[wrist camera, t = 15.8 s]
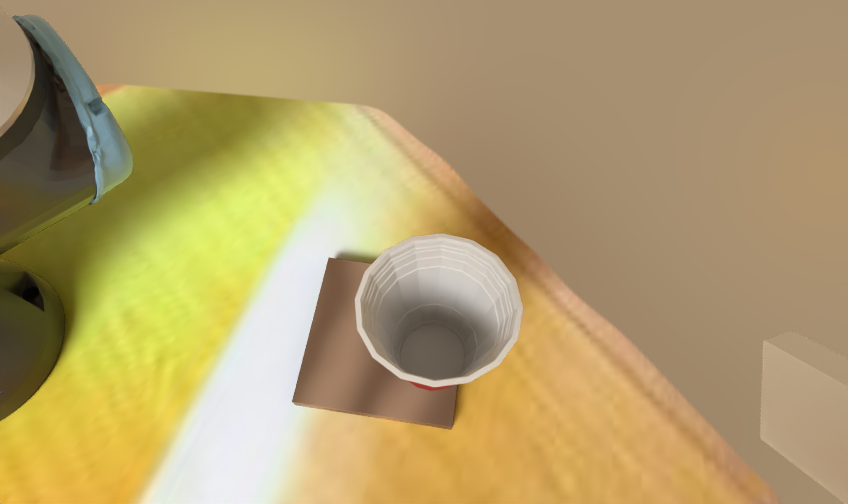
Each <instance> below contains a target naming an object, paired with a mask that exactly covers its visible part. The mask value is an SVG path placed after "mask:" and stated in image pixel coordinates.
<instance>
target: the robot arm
mask: <svg viewBox="0 0 848 504" xmlns="http://www.w3.org/2000/svg"><path fill="white" fill-rule="evenodd" d="M133 166H134V159H133V155H132V151H131V149H130V146H129V144H128V142H127V140H126V138H125V136H124V134H123V132H122V130H121V128H120V126H119V125H118V123H117V121H116V119H115V118H114V116H113V114H112V113H111V111H110V110H109V108H108V107H107V106H106V104H105V103H103V102H102V98H101V96H100V94H99V93H98V91H97V89H96V87H95V85H94V84H93V82H92V81H91V79H90V78H89V76H88V75H87V73H86V72H85V70H84V69H83V67H82V66H81V64H80V63H79V61H78V60H77V58H76V57H75V56H74V54H73V53H72V52H71V50H70V49H69V47H68V46H67V45H66V44H65V42H64V41H63V40H62V39H61V37H60V36H59V35H58V34H57V32H56V31H55V30H54V29H53V28H52V27H51V26H50V24H49V23H48V22H46V21H45V20H44V19H42V18H41V17H38V16H36V15H25V16H21V17H20V16H13V17H11V16H10V15H8V14H7V13H6V12H5V11H3V10H2V9H1V8H0V254H2V253H4V252H6V251H7V250H9V249H11V248H13V247H14V246H16V245H18V244H19V243H21V242H23V241H25V240H26V239H28V238H30V237H32V236H33V235H35V234H37V233H39V232H40V231H42V230H44V229H46V228H48V227H49V226H51V225H53V224H55V223H57V222H58V221H60V220H62V219H64V218H65V217H67V216H69V215H71V214H73V213H74V212H76V211H78V210H80V209H82V208H83V207H85V206H87V205H91V204H94V203H96V202H98V201H99V200H100V199H101V198H102V196H103V194H105V193H106V192H108V191H110V190H111V189H113V188H114V187H116V186H117V185H119V184H120V183H122V182H123V181H125V180H126V179H127V178H128V177H129V176H130V174H131V172H132V170H133ZM64 330H65V318H64V311H63V307H62V304H61V301H60V299H59V297H58V295H57V293H56V292H55V290H54V289H53V288H52V287H51V286H50V284H49V283H47V282H46V281H45V280H44V279H42V278H41V277H39V276H38V275H36V274H34V273H33V272H31V271H30V270H28V269H26V268H25V267H23V266H21V265H18V264H16V263H13V262H10V261H7V260H3V259H0V420H2V419H4V418H5V417H7V416H8V415H10V414H11V413H12V412H14V411H15V410H16V409H17V408H19V407H20V406H21V405H22V404H23V403H24V402H25V401H27V400H28V399H29V398H30V397H31V396H32V394H33V393H34V392H35V391H36V390H37V389H38V388H39V387H40V385H41V384H42V383H43V381H44V380H45V378H46V377H47V375H48V374H49V372H50V371H51V369H52V367H53V365H54V363H55V361H56V359H57V357H58V354H59V352H60V349H61V346H62V342H63V337H64ZM762 368H763V369H762V395H761V422H760V425H761V426H760V438H761V439H762V440H763V441H764V442H766V443H767V444H768V445H770V446H771V447H772V448H773V449H775V450H776V451H777V452H779V453H780V454H781V455H783V456H784V457H785V458H786V459H788V460H789V461H790V462H792V463H793V464H794V465H795V466H797V467H798V468H799V469H801V470H802V471H803V472H805V473H806V474H807V475H808V476H810V477H811V478H812V479H814V480H815V481H816V482H817V483H819V484H820V485H821V486H823V487H824V488H825V489H827V490H828V491H829V492H830V493H832V494H833V495H834V496H836V497H837V498H838V499H839V500H841V501H842V502H843V503H845V504H848V358H846V357H844V356H842V355H840V354H838V353H836V352H834V351H832V350H830V349H828V348H826V347H824V346H822V345H820V344H818V343H816V342H814V341H812V340H810V339H808V338H806V337H804V336H802V335H800V334H798V333H796V332H794V331H790V332H787V333H784V334H781V335H778V336H774V337H771V338H768V339H765V340H763V367H762Z"/></svg>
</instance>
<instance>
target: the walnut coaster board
mask: <svg viewBox="0 0 848 504" xmlns="http://www.w3.org/2000/svg"><path fill="white" fill-rule="evenodd" d="M370 265H371V264H370V263H363V262H356V261H349V260H342V259H335V258H329V259H328V263H327V266H326V270H325V274H324V278H323V282H322V286H321V290H320V294H319V298H318V302H317V306H316V310H315V314H314V317H313V321H312V325H311V329H310V333H309V337H308V341H307V345H306V349H305V353H304V357H303V361H302V365H301V369H300V372H299V376H298V380H297V384H296V388H295V392H294V396H293V400H292V402H293V403H294V404H295V405H299V406H305V407H312V408H318V409H324V410H331V411H337V412H343V413H350V414H356V415H362V416H369V417H375V418H381V419H388V420H394V421H400V422H407V423H413V424H419V425H426V426H432V427H438V428H445V429H452V426H453V417H454V409H455V401H456V392H457V384H456V385H454V386H452V387H450V388H446V389H442V390H434V391H429V390H426V389H422V388H418V387H416V386H415V385H413V384H412V383H411V382H409V381H408V380H404V379H401V378H399V377H398V376H396V375H395V374H394V373H392V372H391V371H390V370H388V369H387V368H386V367H385V366H383V365H382V364H381V363H379V362H378V361H377V360H375V359H374V358H373V357H372V356H371V354H370V352H369V350H368V348H367V346H366V345H365V343H364V341H363V339H362V337H361V336H360V334H359V332H358V330H357V322H356V309H355V297H356V294H357V292H358V289H359V286H360V284H361V281H362V278H363V275H364V273H365V271H366V270H367V269H368V268H369V267H370Z"/></svg>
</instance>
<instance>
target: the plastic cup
mask: <svg viewBox="0 0 848 504" xmlns="http://www.w3.org/2000/svg"><path fill="white" fill-rule="evenodd" d="M355 309H356V322H357V330H358V332H359V334H360V336H361V337H362V339H363V341H364V343H365V345H366V346H367V348H368V350H369V352H370V354H371V356H372V357H373V358H374V359H375V360H377V361H378V362H379V363H381V364H382V365H383V366H385V367H386V368H387V369H388V370H390V371H391V372H392V373H394V374H395V375H396V376H398V377H399V378H401V379H404V380H408V381H409V382H411V383H412V384H413V385H415V386H416V387H418V388H422V389H426V390H429V391H434V390H442V389H446V388H450V387H452V386H454V385H456V384H463V383H469V382H471V381H473V380H474V379H476V378H478V377H480V376H481V375H483V374H485V373H486V372H488V371H490V370H491V369H493V368H495V367H497V366H498V365H499V364H500V363H501V362H502V360H503V359H504V357H505V356H506V355H507V353H508V352H509V350H510V349H511V348H512V346H513V345H514V343H515V342H516V340H517V339H518V335H519V329H520V324H521V318H522V313H523V305H522V302H521V298H520V294H519V290H518V286H517V282H516V279H515V278H514V276H513V275H512V274H511V273H510V271H509V270H508V269H507V267H506V266H505V265H504V263H503V262H502V261H501V259H500V258H499V257H498V256H497V255H496V254H494V253H492V252H491V251H489V250H488V249H486V248H484V247H483V246H481V245H480V244H478V243H476V242H475V241H473V240H471V239H466V238H462V237H457V236H452V235H448V234H443V233H440V234H431V235H423V236H414V237H410V238H408V239H406V240H404V241H402V242H400V243H398V244H396V245H394V246H392V247H390V248H388V249H386V250H385V251H384V252H383V253H382V254H381V255H380V256H379V257H378V258H377V259H376V260H375V261H374V262H373V263H372V264H371V265H370V267H369V268H368V269H367V270H366V271H365V273H364V275H363V278H362V281H361V284H360V286H359V289H358V292H357V294H356V297H355Z"/></svg>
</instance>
